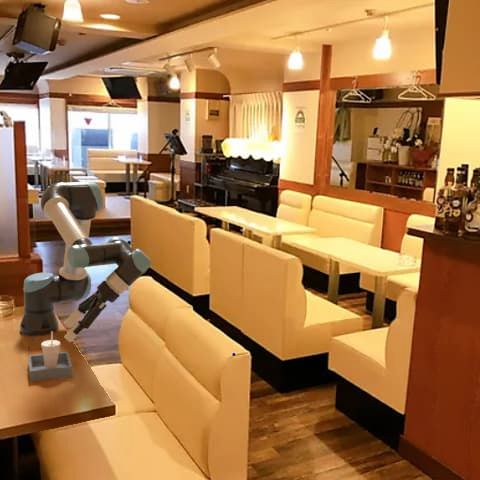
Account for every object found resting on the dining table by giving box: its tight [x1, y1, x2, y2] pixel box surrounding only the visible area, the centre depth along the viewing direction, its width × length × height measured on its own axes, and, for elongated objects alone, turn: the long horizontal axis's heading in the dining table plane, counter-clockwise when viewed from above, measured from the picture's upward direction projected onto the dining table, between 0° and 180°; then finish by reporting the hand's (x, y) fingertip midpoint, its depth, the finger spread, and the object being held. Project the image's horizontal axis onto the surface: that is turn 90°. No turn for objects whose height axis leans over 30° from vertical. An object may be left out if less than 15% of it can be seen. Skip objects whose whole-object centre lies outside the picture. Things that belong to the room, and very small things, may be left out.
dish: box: [27, 351, 73, 382], centre depth 198 cm, size 14×14×4 cm
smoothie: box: [40, 331, 61, 369], centre depth 197 cm, size 6×6×14 cm
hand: (66, 332), depth 189 cm, fingers open, 13 cm apart
